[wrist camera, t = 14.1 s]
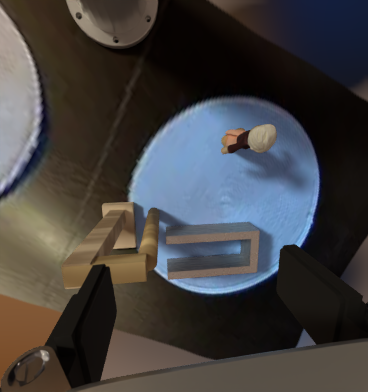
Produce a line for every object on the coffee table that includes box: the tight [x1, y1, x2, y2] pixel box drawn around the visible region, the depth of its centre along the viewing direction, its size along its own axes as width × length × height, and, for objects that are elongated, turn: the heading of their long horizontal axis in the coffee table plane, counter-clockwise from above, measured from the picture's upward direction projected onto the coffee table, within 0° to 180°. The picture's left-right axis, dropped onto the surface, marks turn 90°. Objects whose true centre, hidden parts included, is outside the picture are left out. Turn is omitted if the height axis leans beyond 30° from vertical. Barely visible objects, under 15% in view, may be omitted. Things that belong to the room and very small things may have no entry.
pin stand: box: [61, 202, 160, 289], centre depth 28 cm, size 8×10×19 cm
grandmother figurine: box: [221, 124, 277, 154], centre depth 29 cm, size 8×4×13 cm, turn 127°
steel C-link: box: [166, 222, 260, 280], centre depth 37 cm, size 16×8×4 cm, turn 91°
